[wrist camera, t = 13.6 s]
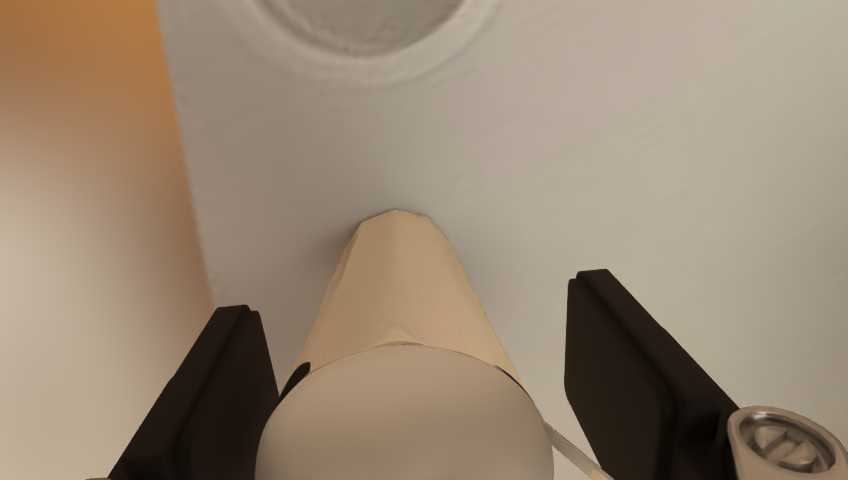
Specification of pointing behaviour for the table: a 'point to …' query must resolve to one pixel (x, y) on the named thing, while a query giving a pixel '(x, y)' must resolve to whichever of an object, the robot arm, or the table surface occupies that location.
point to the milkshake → (406, 376)
